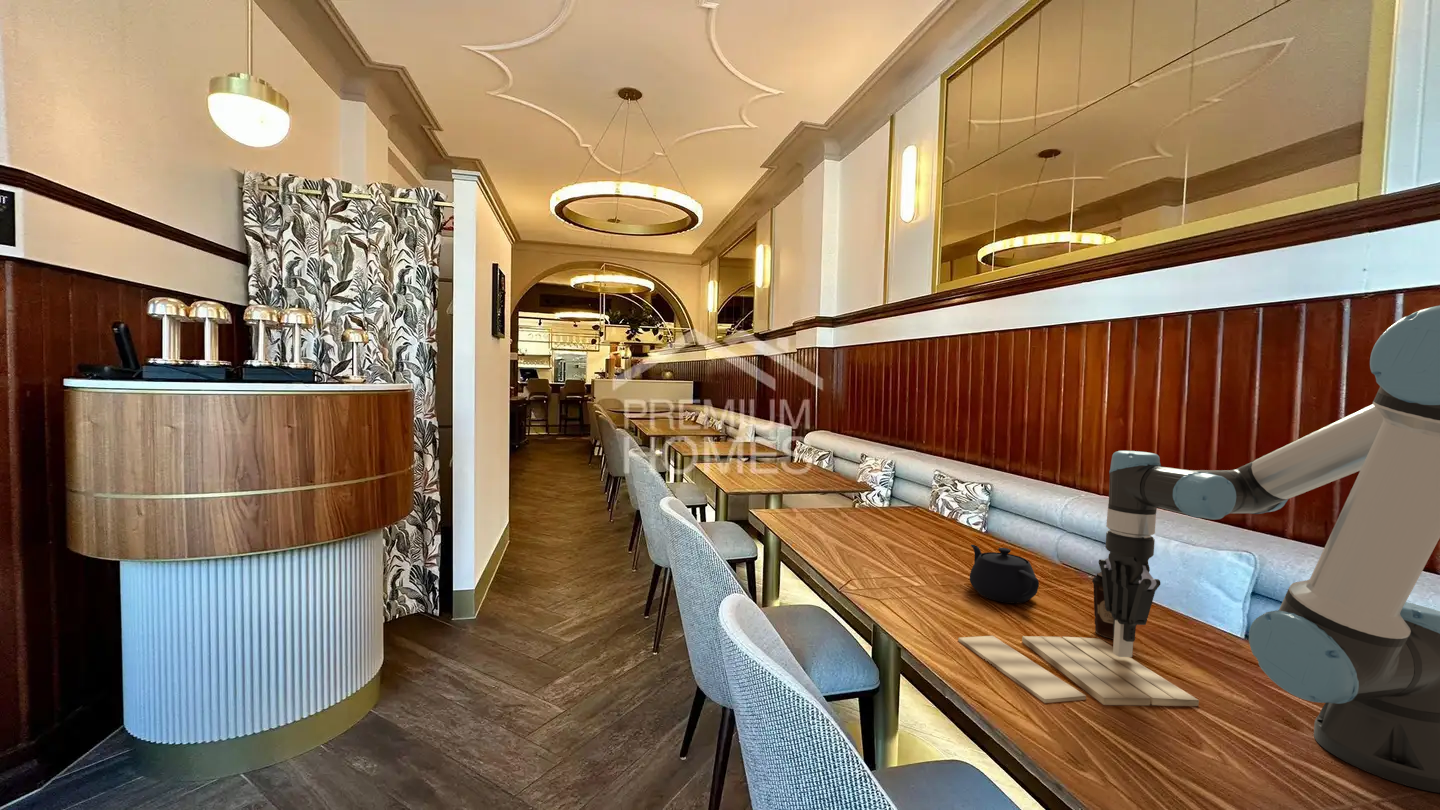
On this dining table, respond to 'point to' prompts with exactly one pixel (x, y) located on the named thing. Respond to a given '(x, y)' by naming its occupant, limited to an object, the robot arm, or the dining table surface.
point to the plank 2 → (1134, 673)
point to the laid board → (1086, 671)
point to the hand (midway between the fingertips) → (1122, 654)
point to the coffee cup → (1101, 610)
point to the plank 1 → (1022, 670)
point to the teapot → (1003, 576)
